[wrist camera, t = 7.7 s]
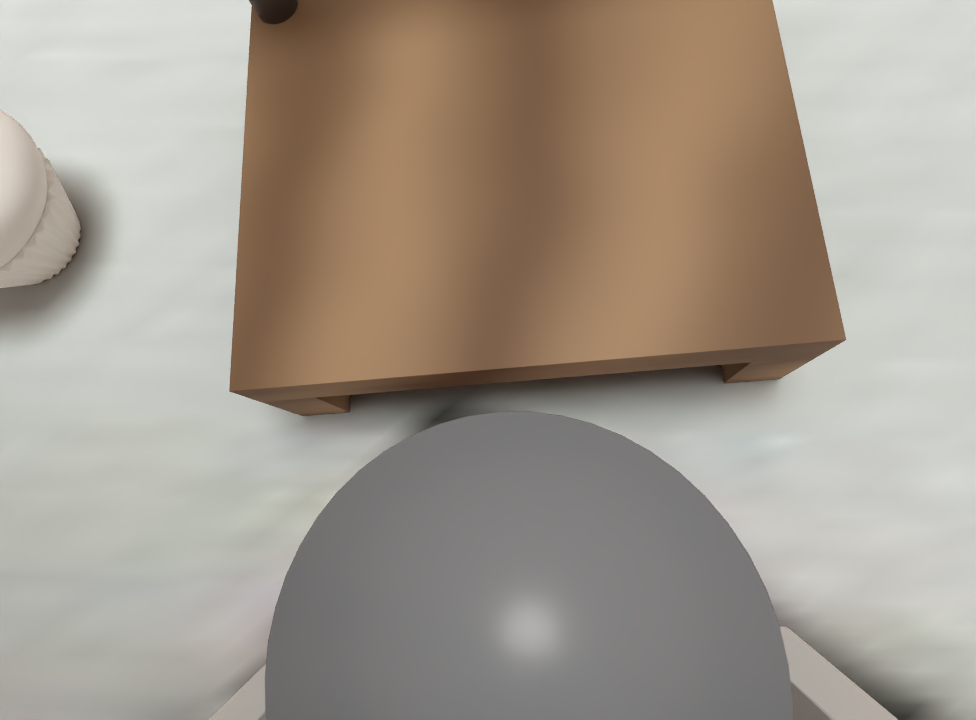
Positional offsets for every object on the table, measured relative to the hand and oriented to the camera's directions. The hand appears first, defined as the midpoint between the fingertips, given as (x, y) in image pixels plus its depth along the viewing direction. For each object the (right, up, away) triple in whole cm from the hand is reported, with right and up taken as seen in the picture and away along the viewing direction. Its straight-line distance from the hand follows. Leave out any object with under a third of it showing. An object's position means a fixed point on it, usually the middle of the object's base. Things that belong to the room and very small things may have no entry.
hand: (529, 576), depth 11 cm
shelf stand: (0, +9, +7) cm, 11 cm away
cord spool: (+1, -2, +5) cm, 5 cm away
